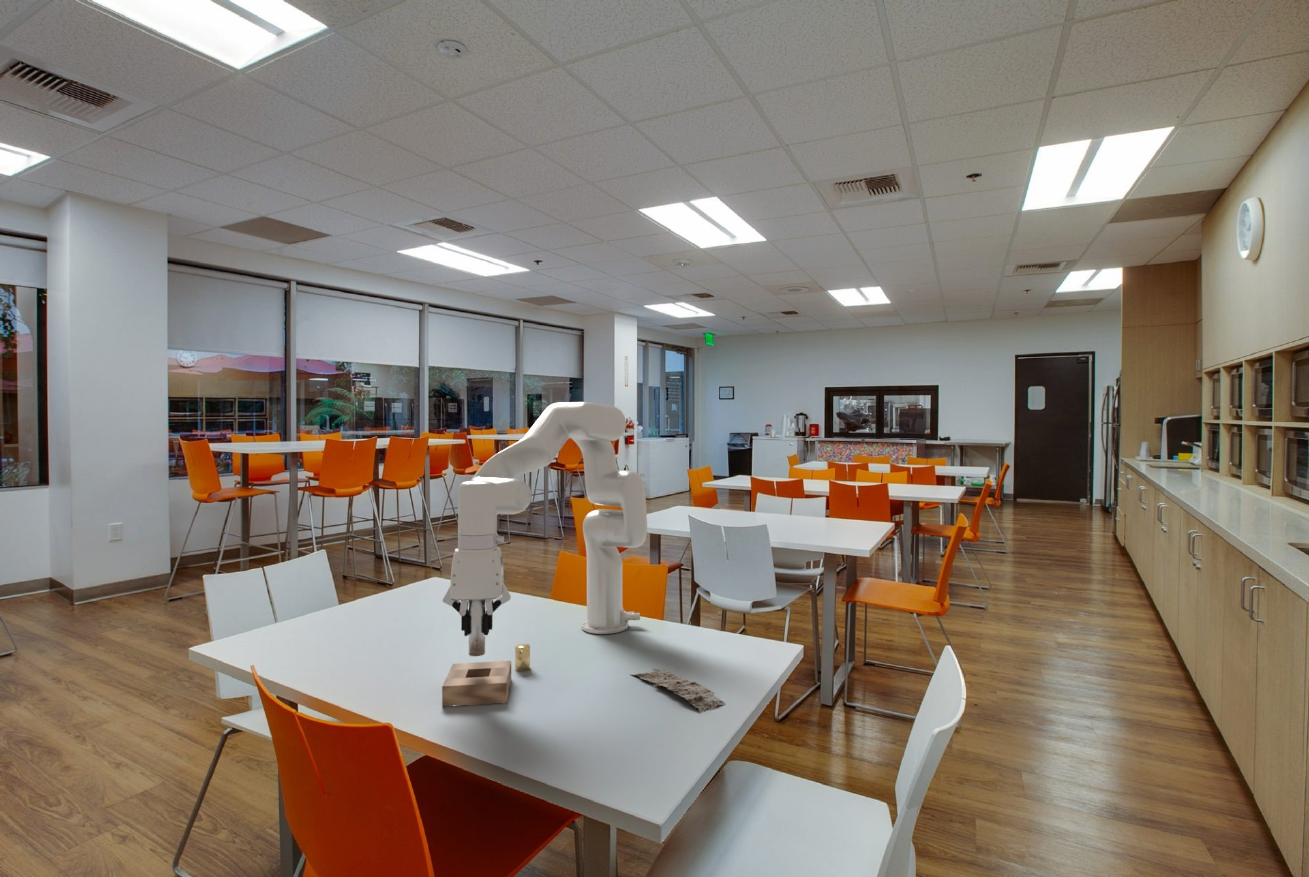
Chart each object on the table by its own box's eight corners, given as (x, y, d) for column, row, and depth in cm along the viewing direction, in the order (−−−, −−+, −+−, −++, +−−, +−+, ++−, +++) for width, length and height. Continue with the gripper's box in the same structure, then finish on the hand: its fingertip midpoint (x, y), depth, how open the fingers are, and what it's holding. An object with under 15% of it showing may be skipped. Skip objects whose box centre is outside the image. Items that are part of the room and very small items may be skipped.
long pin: (486, 650, 131) (486, 591, 131) (484, 655, 127) (484, 595, 128) (469, 651, 130) (470, 592, 130) (467, 656, 127) (467, 596, 127)
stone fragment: (704, 720, 119) (736, 703, 126) (704, 705, 119) (736, 689, 126) (613, 681, 137) (646, 668, 144) (613, 668, 137) (646, 655, 144)
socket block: (511, 679, 136) (511, 660, 136) (506, 703, 124) (506, 682, 124) (452, 682, 134) (452, 663, 134) (442, 707, 123) (442, 686, 123)
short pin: (530, 665, 144) (530, 643, 144) (529, 670, 141) (529, 648, 141) (515, 666, 144) (515, 644, 144) (514, 671, 141) (514, 648, 141)
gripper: (520, 538, 134) (519, 626, 134) (438, 540, 131) (438, 629, 131) (517, 544, 126) (517, 637, 126) (431, 546, 124) (430, 641, 124)
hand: (477, 632), depth 129 cm, fingers closed on long pin, 3 cm apart
